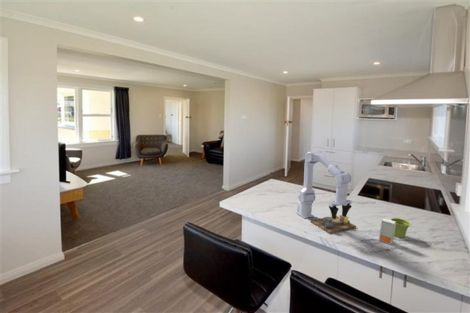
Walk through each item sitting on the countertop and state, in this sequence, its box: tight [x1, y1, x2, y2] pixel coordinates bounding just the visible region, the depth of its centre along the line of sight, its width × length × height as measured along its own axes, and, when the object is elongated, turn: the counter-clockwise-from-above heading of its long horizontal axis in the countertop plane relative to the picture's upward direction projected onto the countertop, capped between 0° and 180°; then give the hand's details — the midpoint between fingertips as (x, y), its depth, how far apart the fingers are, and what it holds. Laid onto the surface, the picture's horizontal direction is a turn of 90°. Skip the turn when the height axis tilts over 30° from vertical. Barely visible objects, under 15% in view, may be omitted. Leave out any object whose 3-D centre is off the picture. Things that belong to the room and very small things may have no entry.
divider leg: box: [338, 214, 349, 225], centre depth 158 cm, size 5×3×5 cm, turn 24°
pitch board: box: [310, 215, 357, 234], centre depth 158 cm, size 16×21×7 cm
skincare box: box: [378, 218, 396, 245], centre depth 139 cm, size 6×4×12 cm
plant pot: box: [390, 217, 411, 239], centre depth 147 cm, size 9×9×9 cm
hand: (338, 217), depth 146 cm, fingers open, 7 cm apart
